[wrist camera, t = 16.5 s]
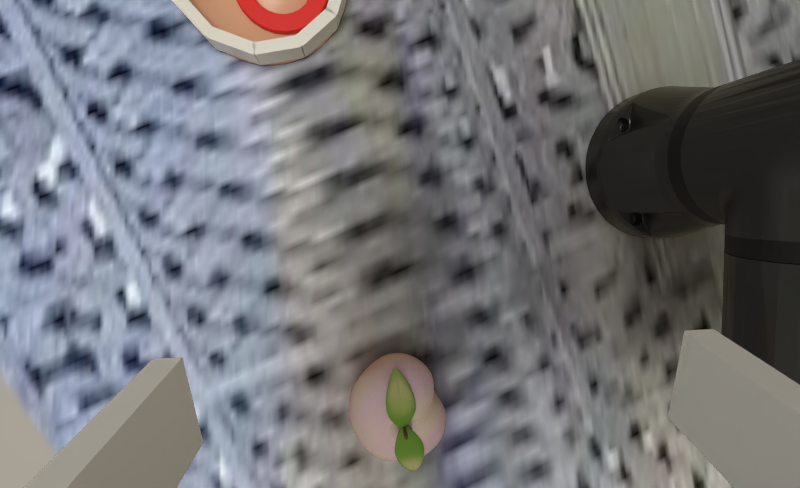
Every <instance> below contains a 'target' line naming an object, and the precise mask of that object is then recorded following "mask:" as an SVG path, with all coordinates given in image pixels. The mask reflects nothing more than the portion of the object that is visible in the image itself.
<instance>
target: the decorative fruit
mask: <svg viewBox="0 0 800 488" xmlns="http://www.w3.org/2000/svg"><path fill="white" fill-rule="evenodd" d="M349 417H350V421H351V424H352V427H353V429H354V431H355V434H356V436H357V438H358V440H359V441H360V443H361V444H362V445H363V446H364V448H365V449H366V450H367V451H369V452H370V453H371V454H373V455H374V456H376V457H378V458H380V459H383V460H387V461H398V462H399V463H400V464H401V465H402V466H403V467H404V468H406V469H408V470H411V471H415V470H417V469H418V468H419V467H420V465H421V463H422V461H423V458H424V455H426V454H427V453H429V452H430V451H431V450H432V449H433V448H434V447H435V446H436V445H437V444H438V443H439V441H440V439H441V437H442V436H443V433H444V430H445V426H446V415H445V409H444V406H443V404H442V402H441V401H440V399H439V397H438V396H437V394H436V393H435V392H434V382H433V377H432V374H431V373H430V371H429V369H428V368H427V367H426V366H425V364H424V363H422V362H421V361H420V360H419V359H417V358H415V357H413V356H411V355H408V354H404V353H391V354H387V355H384V356H382V357H380V358H379V359H377V360H376V361H374V362H373V363H372V364H371V365H369V366H368V367H367V368H366V369H365V370H364V372H363V373H362V374H361V375H360V377H359V378H358V379H357V381H356V383H355V384H354V386H353V389H352V391H351V395H350V400H349Z"/></svg>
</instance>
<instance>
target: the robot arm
mask: <svg viewBox="0 0 800 488" xmlns="http://www.w3.org/2000/svg"><path fill="white" fill-rule="evenodd" d="M586 172H587V182H588V187H589V190H590V193H591V196H592V199H593V201H594V203H595V205H596V207H597V208H598V210H599V211H600V213H601V214H602V215H603V216H604V217H605V219H606V220H607V221H608V222H610V223H611V224H612V225H613V226H615V227H616V228H618V229H619V230H621V231H623V232H625V233H628V234H631V235H634V236H639V237H648V238H674V237H679V236H683V235H686V234H689V233H693V232H696V231H699V230H703V229H706V228H709V227H713V226H716V225H720V224H725V248H724V279H723V310H722V334H720V333H719V332H717V331H716V330H714V329H705V330H686V331H684V335H683V340H682V345H681V351H680V356H679V361H678V367H677V372H676V378H675V383H674V388H673V394H672V399H671V404H670V410H669V415H668V418H669V419H670V420H671V421H672V422H673V423H674V424H675V425H676V426H677V427H678V428H679V430H680V431H681V432H682V433H683V434H684V435H685V436H686V437H687V438H688V439H689V440H690V441H691V442H692V443H693V445H694V446H695V447H696V448H697V449H698V450H699V451H700V452H701V453H702V454H703V455H704V456H705V457H706V458H707V460H708V461H709V462H710V463H711V464H712V465H713V466H714V467H715V468H716V469H717V470H718V471H719V472H720V473H721V475H722V476H723V477H724V478H725V479H726V480H727V481H728V482H729V483H730V484H731V485H732V486H733V487H734V488H800V60H796V61H793V62H790V63H787V64H784V65H781V66H778V67H775V68H772V69H769V70H766V71H763V72H760V73H757V74H754V75H751V76H748V77H745V78H742V79H739V80H736V81H733V82H730V83H728V84H725V85H722V86H719V87H715V88H706V87H677V86H669V87H661V88H656V89H651V90H648V91H646V92H643V93H640V94H638V95H635V96H633V97H630V98H628V99H626V100H624V101H623V102H621V103H620V104H618V105H617V106H616V107H614V108H613V109H612V110H611V111H610V112H609V113H608V114H607V115H606V116H605V117H604V119H603V120H602V121H601V123H600V124H599V126H598V128H597V129H596V131H595V133H594V135H593V138H592V140H591V143H590V146H589V150H588V155H587V164H586ZM202 444H203V440H202V436H201V432H200V428H199V424H198V420H197V415H196V411H195V407H194V403H193V399H192V395H191V391H190V387H189V383H188V379H187V375H186V371H185V367H184V363H183V359H182V358H164V359H152V360H151V361H150V362H149V363H148V364H147V365H146V366H145V367H144V368H143V369H142V370H141V371H140V372H139V373H138V374H137V375H136V376H135V377H134V378H133V379H132V380H131V381H130V382H129V383H128V384H127V385H126V386H125V387H124V388H123V389H122V390H121V391H120V392H119V393H118V394H117V395H116V396H115V397H114V398H113V399H112V400H111V401H110V402H109V403H108V404H107V405H106V406H105V407H104V408H103V409H102V410H101V411H100V412H99V413H98V414H97V415H96V416H95V417H94V418H93V419H92V420H91V421H90V422H89V423H88V424H87V425H86V426H85V427H84V428H83V429H82V430H81V431H80V432H79V433H78V434H77V435H76V436H75V437H74V438H73V439H72V440H71V441H70V442H69V443H68V444H67V445H66V446H65V447H64V448H63V449H62V450H61V451H60V452H59V453H58V454H57V455H56V456H55V457H54V458H53V459H52V460H51V461H50V462H49V463H48V464H47V465H46V466H45V467H44V468H43V469H42V470H41V471H40V472H39V473H38V474H37V475H36V476H35V477H34V478H33V479H32V480H31V481H30V482H29V483H28V484H27V485H26V486H25V487H24V488H177V486H178V485H179V483H180V481H181V479H182V478H183V476H184V474H185V473H186V471H187V469H188V468H189V466H190V464H191V462H192V461H193V459H194V457H195V456H196V454H197V452H198V451H199V449H200V447H201V445H202Z"/></svg>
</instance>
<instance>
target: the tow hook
mask: <svg viewBox="0 0 800 488" xmlns="http://www.w3.org/2000/svg"><path fill="white" fill-rule="evenodd" d="M236 1H237V3H238V4H239V6H240V8H241V10H242V11H243V12H244V14H245V15H246V16H247V17H248V18H249V19H250V20H251V21H252V22H253V23H254V24H256V25H257V26H259V27H260V28H262V29H264V30H266V31H269V32H272V33H274V34H283V35H290V34H296V33H299V32H300V31H301V30H302V29H303V28H305V27H306V26H307V25H308V24H309V23H310V22H311V21H312V20H314V19H315V18H316V17H317V16H318V15H319V14H320V13H321V12H323V11H324V10H325V9H326V6H327V3H328V0H308V1H307V2H306V4H305V5H304V6H303V7H302V8H301V9H299V10H297V11H295V12H293V13H289V14H276V13H274V12H271V11H268V10H267V9H265V8H264V7H262V6H261V5H260V4H259V3H258V2H257V1H256V0H236Z"/></svg>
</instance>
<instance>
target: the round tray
mask: <svg viewBox="0 0 800 488" xmlns="http://www.w3.org/2000/svg"><path fill="white" fill-rule="evenodd" d="M172 1H173V2H174V3H175V4H176V6H177V7H178V8H179V9H180V10H181V11H182V13H183V14H184V15H185V16H186V17H187V18H188V19H189V20H190V21H191V22H192V24H193V25H194V26H195V27H196V28H197V29H198V30H199V31H200V32H201V34H202V35H203V36H204V37H205V38H206V39H207V40H208V41H209V42H210V43H211V44H212V45H213V47H214V48H216V49H217V50H220V51H223V52H225V53H227V54H229V55H231V56H233V57H235V58H237V59H240V60H243V61H246V62H250V63H255V64H258V65H260V64H261V65H279V64H286V63H290V62H294V61H297V60H299V59H302V58H304V57H307V56H308V55H310V54H312V53H313V52H315V51H316V50H317V49H319V48H320V47H321V46H322V45H323V44H324V43H325V42H326V41H327V40H328V39H329V38H330V37H331V35H332V34H333V33H334V32H335V31H336V30H337V28H338V27H339V23H340V21H341V18H342V16H343V13H344V10H345V6H346V2H347V0H328V3H327V6H326V9H325V10H324V11H323V12H321V13H320V14H319V15H318V16H317V17H316V18H315V19H314V20H312V21H311V22H310V23H309V24H308V25H307V26H306V27H305V28H303V29H302V30H301V31H300V32H299V33H296V34H290V35H283V34H274V33H272V32H269V31H266V30H264V29H262V28H260V27H259V26H257V25H256V24H254V23H253V22H252V21H251V20H250V19H249V18H248V17H247V16H246V15H245V14H244V12H243V11H242V10H241V8H240V6H239V4H238V3H237V1H236V0H172ZM256 1H257V2H258V3H259V4H260V5H261V6H262V7H264V8H265V9H267V10H268V11H271V12H274V13H276V14H289V13H293V12H295V11H297V10H299V9H301V8H302V7H303V6H304V5H305V4H306V2H307V1H308V0H256Z"/></svg>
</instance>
